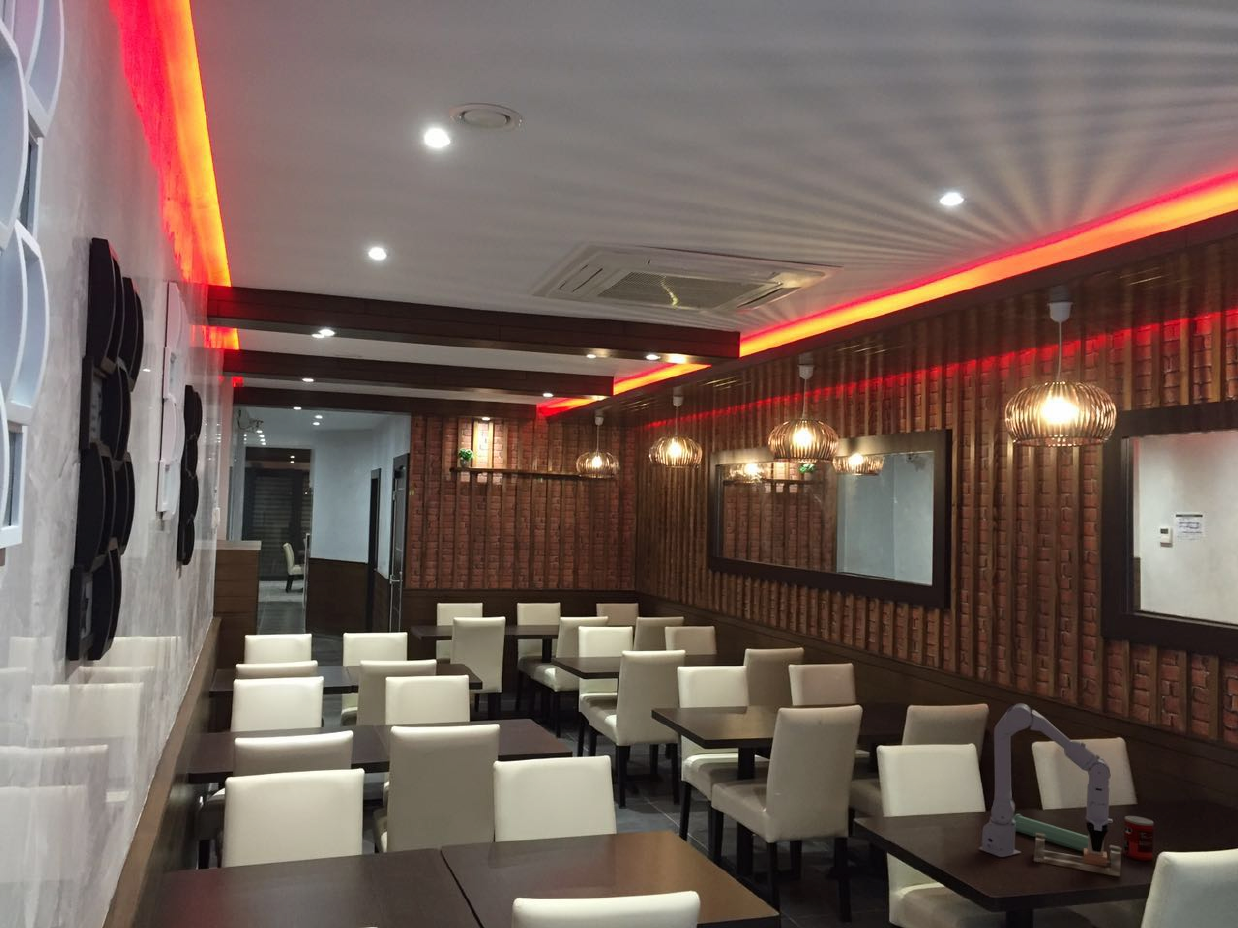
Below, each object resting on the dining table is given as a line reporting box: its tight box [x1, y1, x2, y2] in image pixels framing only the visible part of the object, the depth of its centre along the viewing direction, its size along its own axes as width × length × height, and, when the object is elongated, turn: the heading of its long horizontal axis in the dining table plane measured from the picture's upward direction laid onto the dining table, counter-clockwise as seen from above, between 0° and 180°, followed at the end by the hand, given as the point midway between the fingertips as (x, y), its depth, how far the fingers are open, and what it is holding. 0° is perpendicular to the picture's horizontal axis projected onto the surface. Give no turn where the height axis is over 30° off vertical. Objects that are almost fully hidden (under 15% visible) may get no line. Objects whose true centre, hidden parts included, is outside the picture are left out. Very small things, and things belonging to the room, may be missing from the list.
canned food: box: [1123, 815, 1155, 861], centre depth 309 cm, size 8×8×11 cm
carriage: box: [1083, 832, 1108, 867], centre depth 295 cm, size 6×6×8 cm
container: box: [1013, 813, 1088, 853], centre depth 318 cm, size 6×6×25 cm
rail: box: [1033, 833, 1123, 877], centre depth 297 cm, size 23×8×7 cm, turn 66°
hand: (1096, 849), depth 295 cm, fingers closed on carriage, 2 cm apart
